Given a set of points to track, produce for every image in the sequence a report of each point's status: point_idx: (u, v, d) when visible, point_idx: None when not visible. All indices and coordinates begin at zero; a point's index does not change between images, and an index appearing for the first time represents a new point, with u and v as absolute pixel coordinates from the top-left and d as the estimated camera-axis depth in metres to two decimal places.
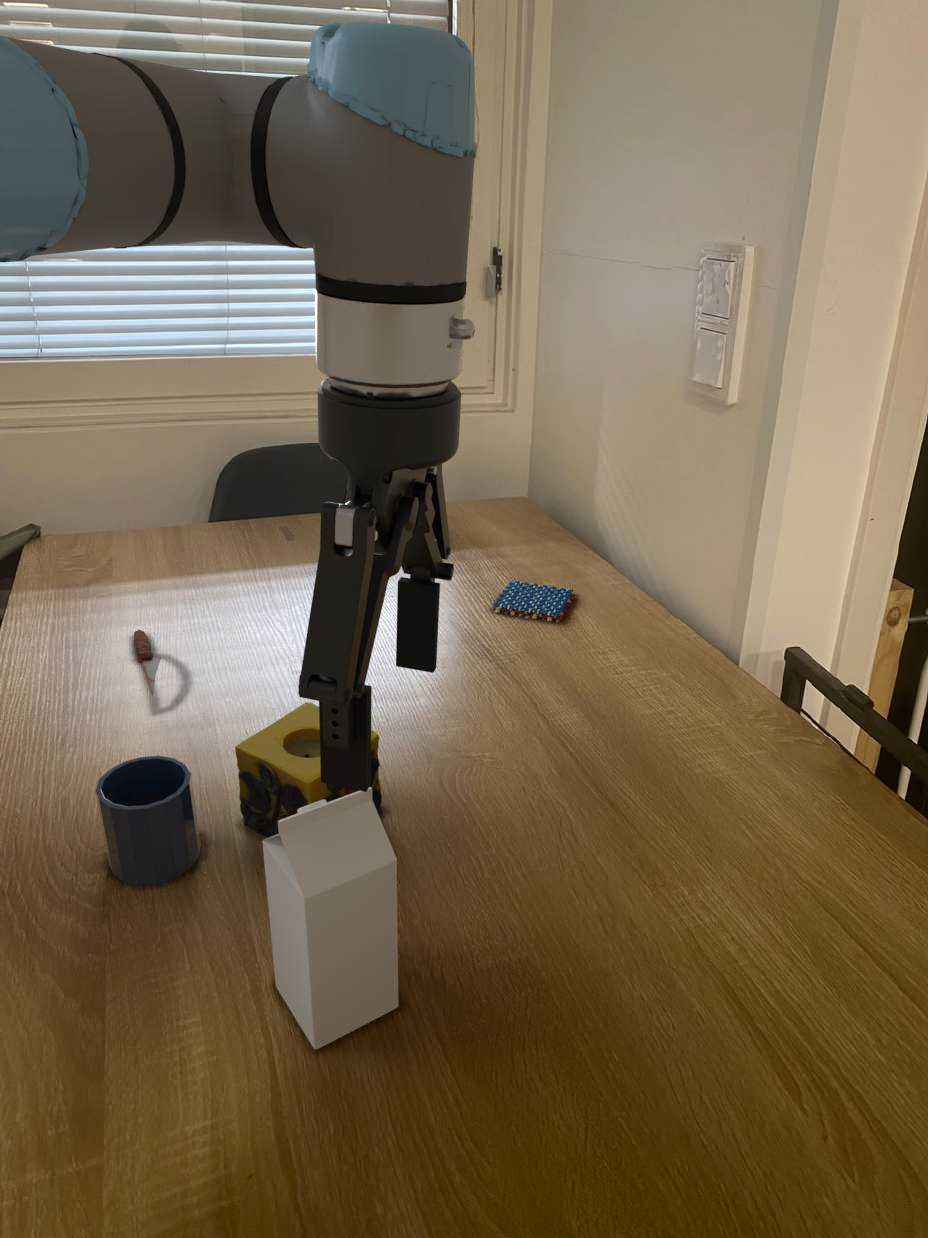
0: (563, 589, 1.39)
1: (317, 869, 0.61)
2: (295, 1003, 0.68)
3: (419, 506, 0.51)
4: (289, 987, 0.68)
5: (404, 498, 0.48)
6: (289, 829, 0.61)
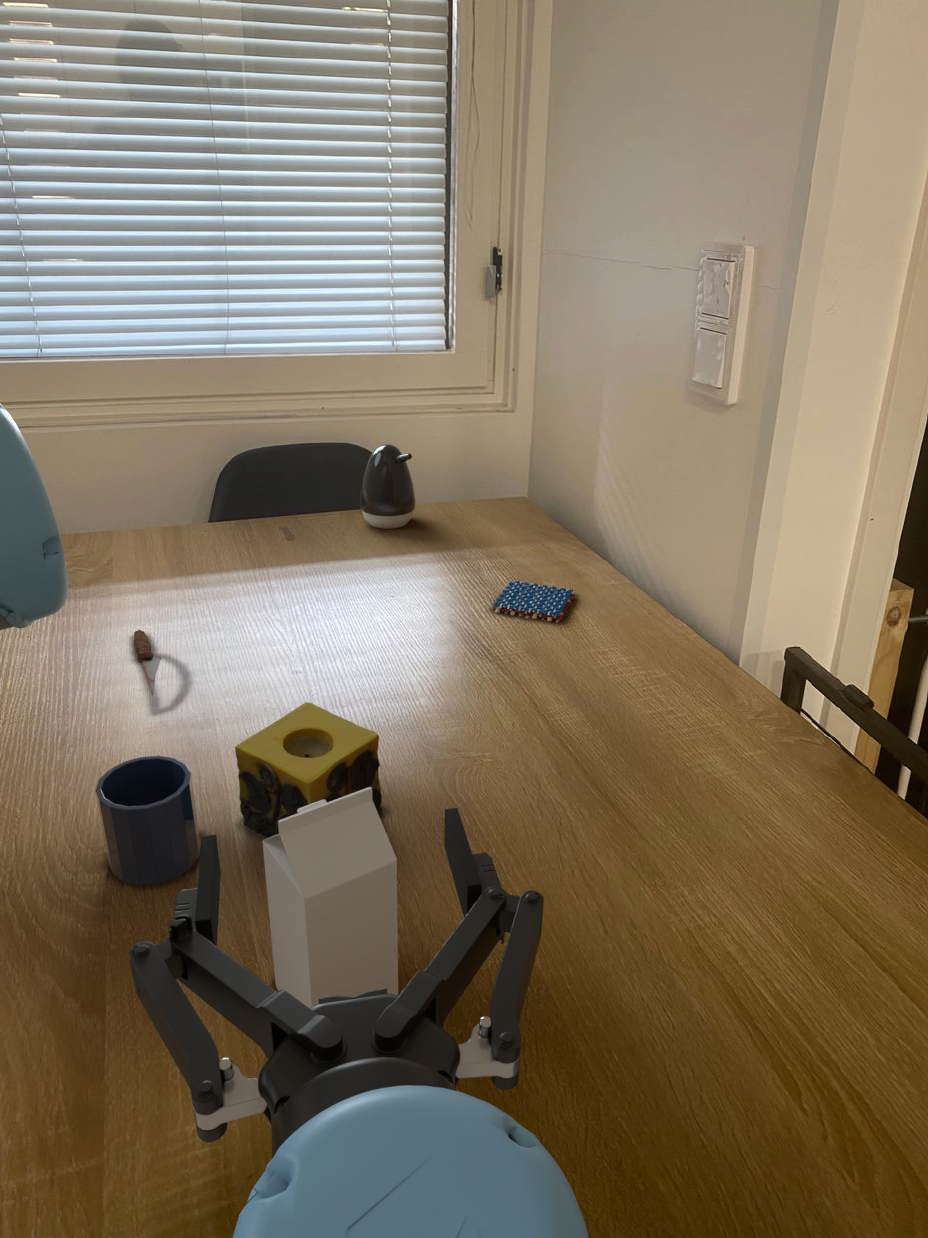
0: (563, 589, 1.39)
1: (317, 869, 0.61)
2: None
3: None
4: (289, 987, 0.68)
5: None
6: (289, 829, 0.61)
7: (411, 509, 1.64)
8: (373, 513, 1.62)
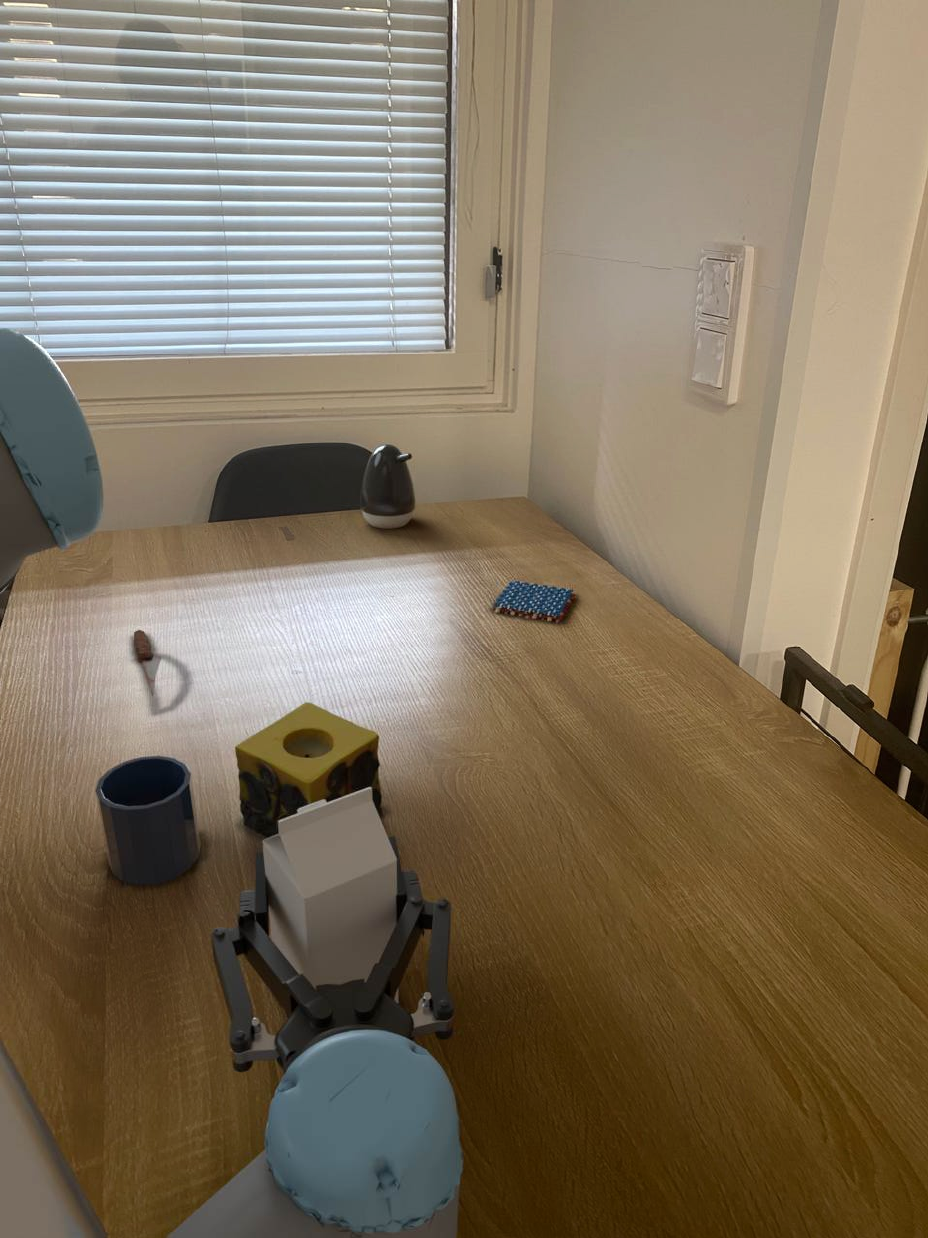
0: (563, 589, 1.39)
1: (317, 869, 0.61)
2: None
3: None
4: None
5: None
6: (289, 829, 0.61)
7: (411, 509, 1.64)
8: (373, 513, 1.62)
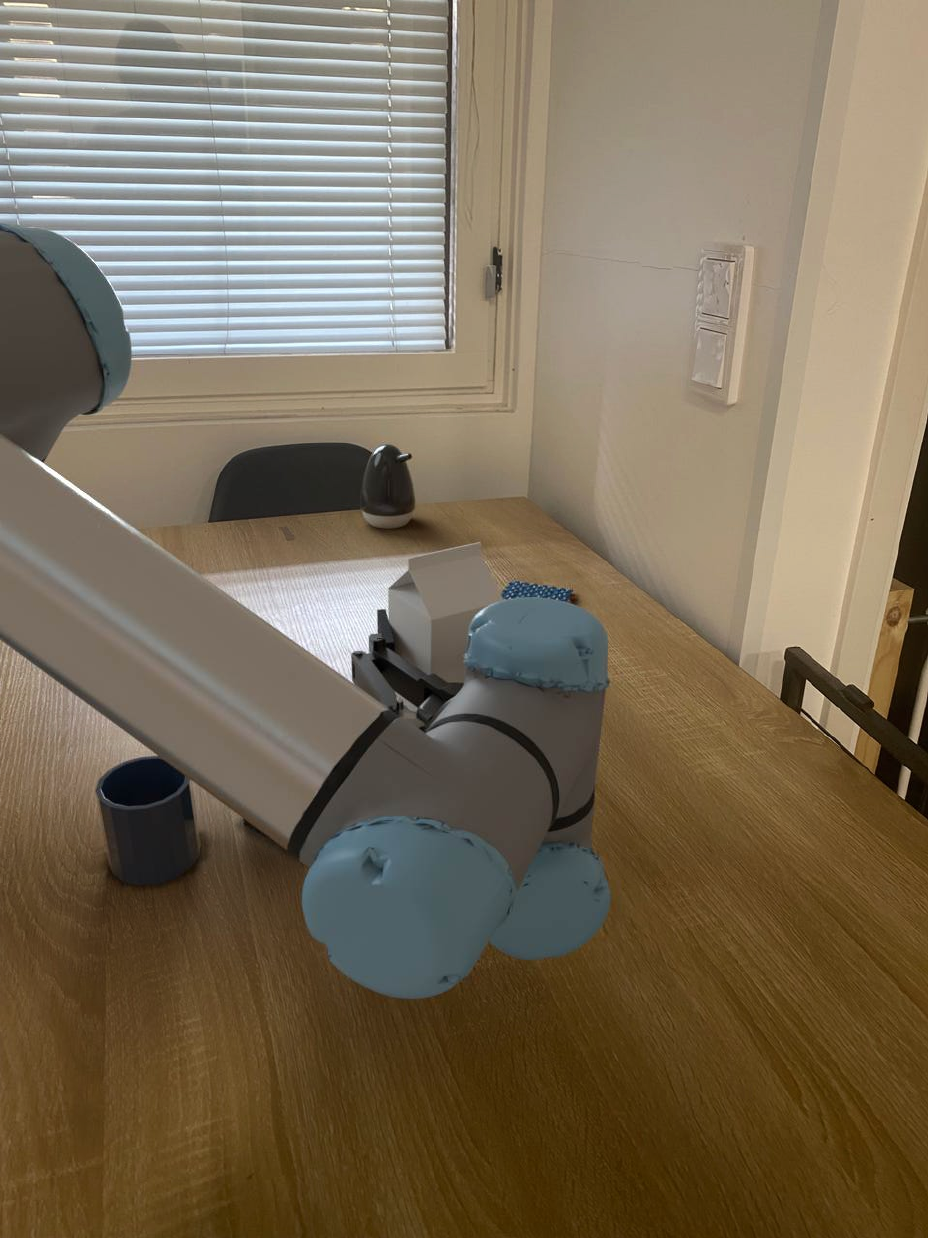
0: (563, 589, 1.39)
1: (440, 599, 0.73)
2: None
3: None
4: None
5: None
6: (416, 567, 0.73)
7: (411, 509, 1.64)
8: (373, 513, 1.62)
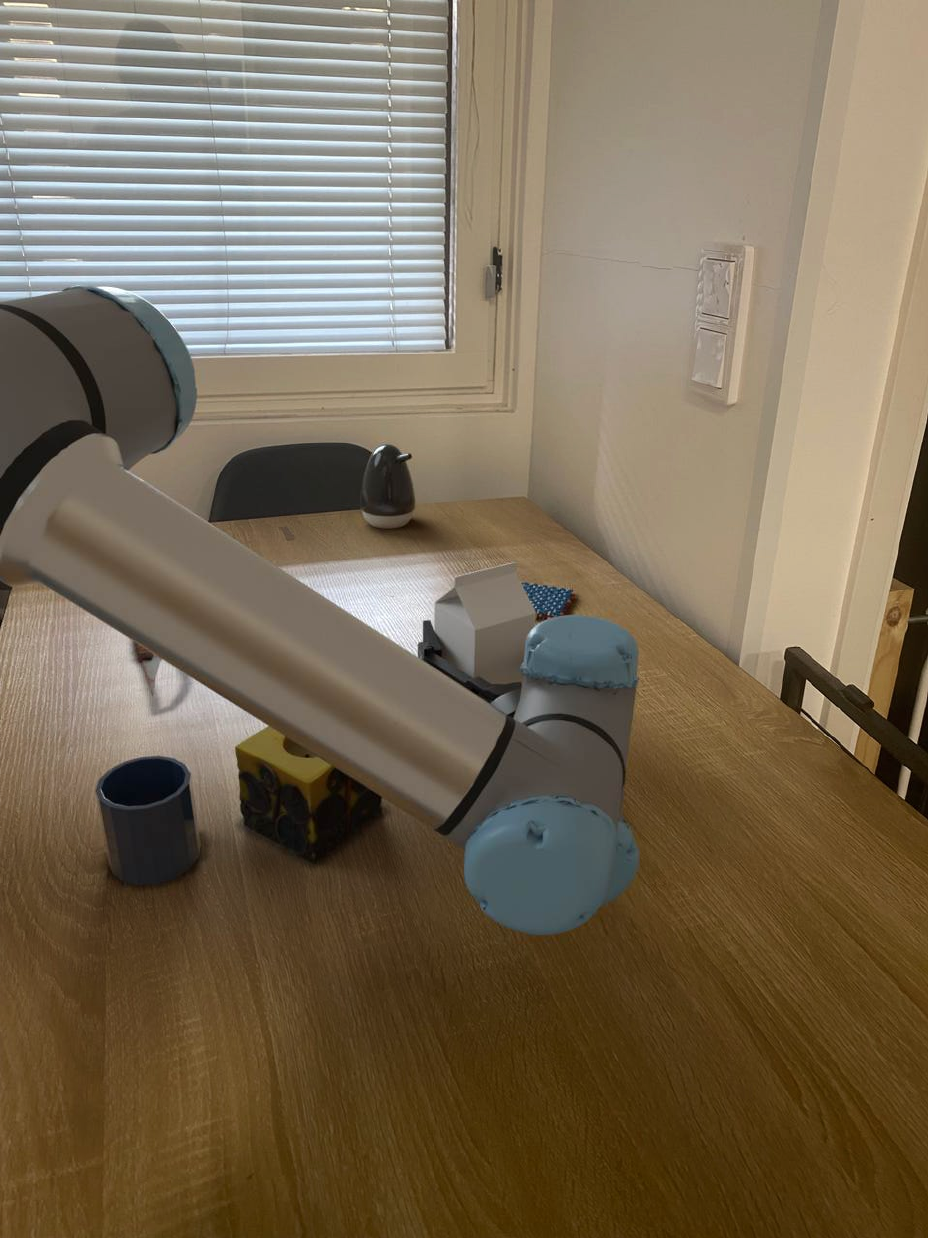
0: (563, 589, 1.39)
1: (482, 612, 0.85)
2: None
3: None
4: None
5: None
6: (461, 584, 0.85)
7: (411, 509, 1.64)
8: (373, 513, 1.62)
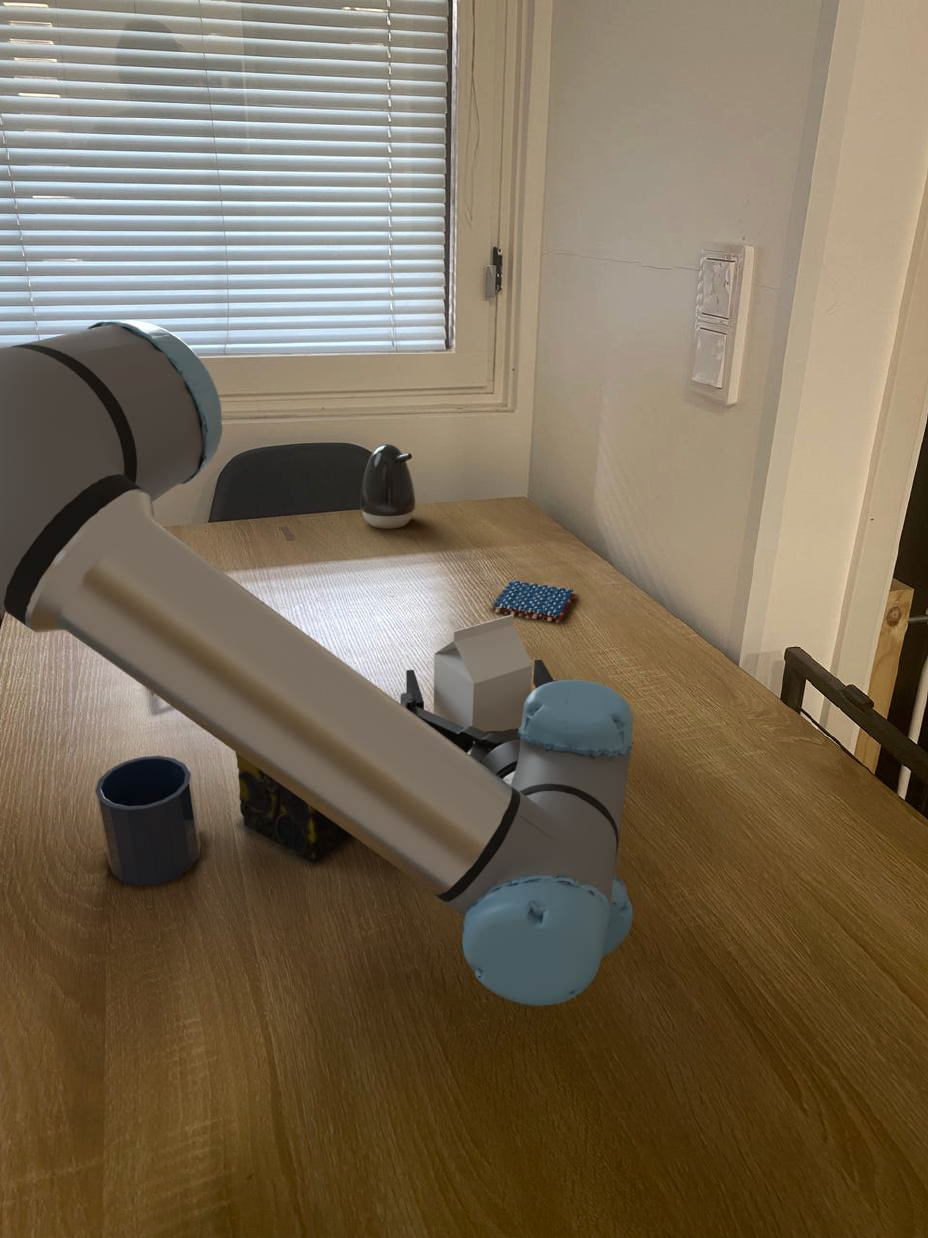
0: (563, 589, 1.39)
1: (480, 665, 0.87)
2: None
3: None
4: None
5: None
6: (460, 638, 0.88)
7: (411, 509, 1.64)
8: (373, 513, 1.62)
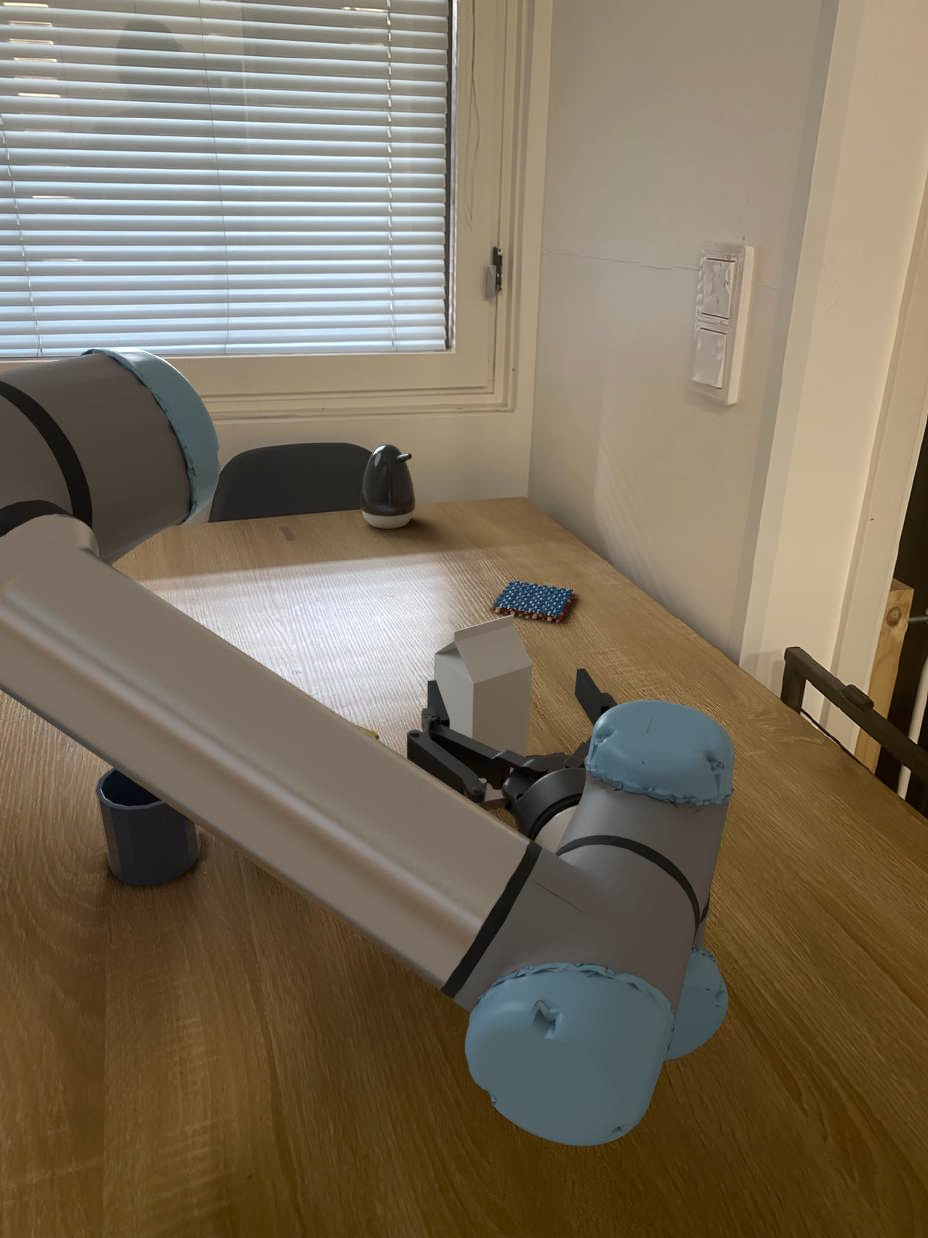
0: (563, 589, 1.39)
1: (480, 665, 0.87)
2: None
3: None
4: None
5: None
6: (460, 638, 0.88)
7: (411, 509, 1.64)
8: (373, 513, 1.62)
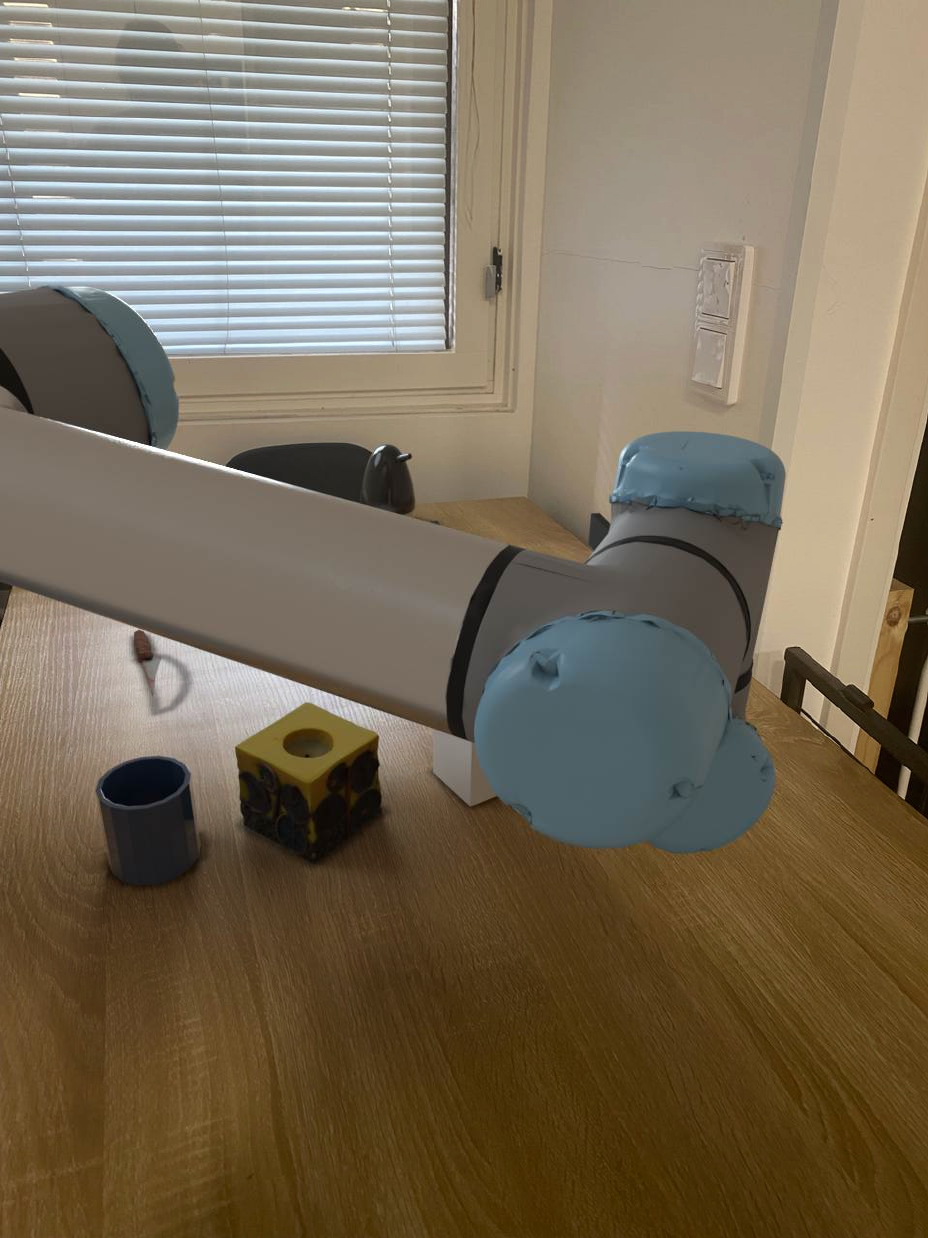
0: None
1: None
2: (453, 776, 0.94)
3: None
4: (448, 765, 0.94)
5: None
6: None
7: (411, 509, 1.64)
8: None
